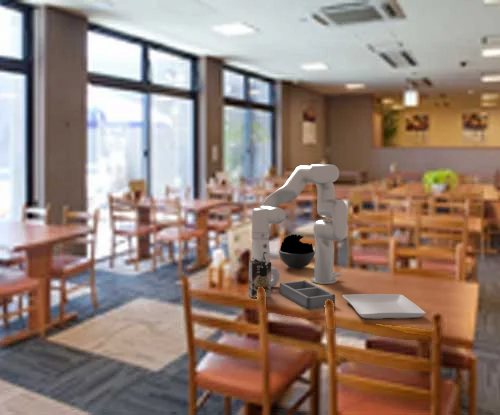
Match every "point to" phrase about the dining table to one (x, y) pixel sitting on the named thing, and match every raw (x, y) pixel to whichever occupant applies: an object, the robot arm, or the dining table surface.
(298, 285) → the caddy
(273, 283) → the donut
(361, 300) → the square plate
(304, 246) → the bowl of black rocks
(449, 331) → the dining table surface
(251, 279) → the coffee box
